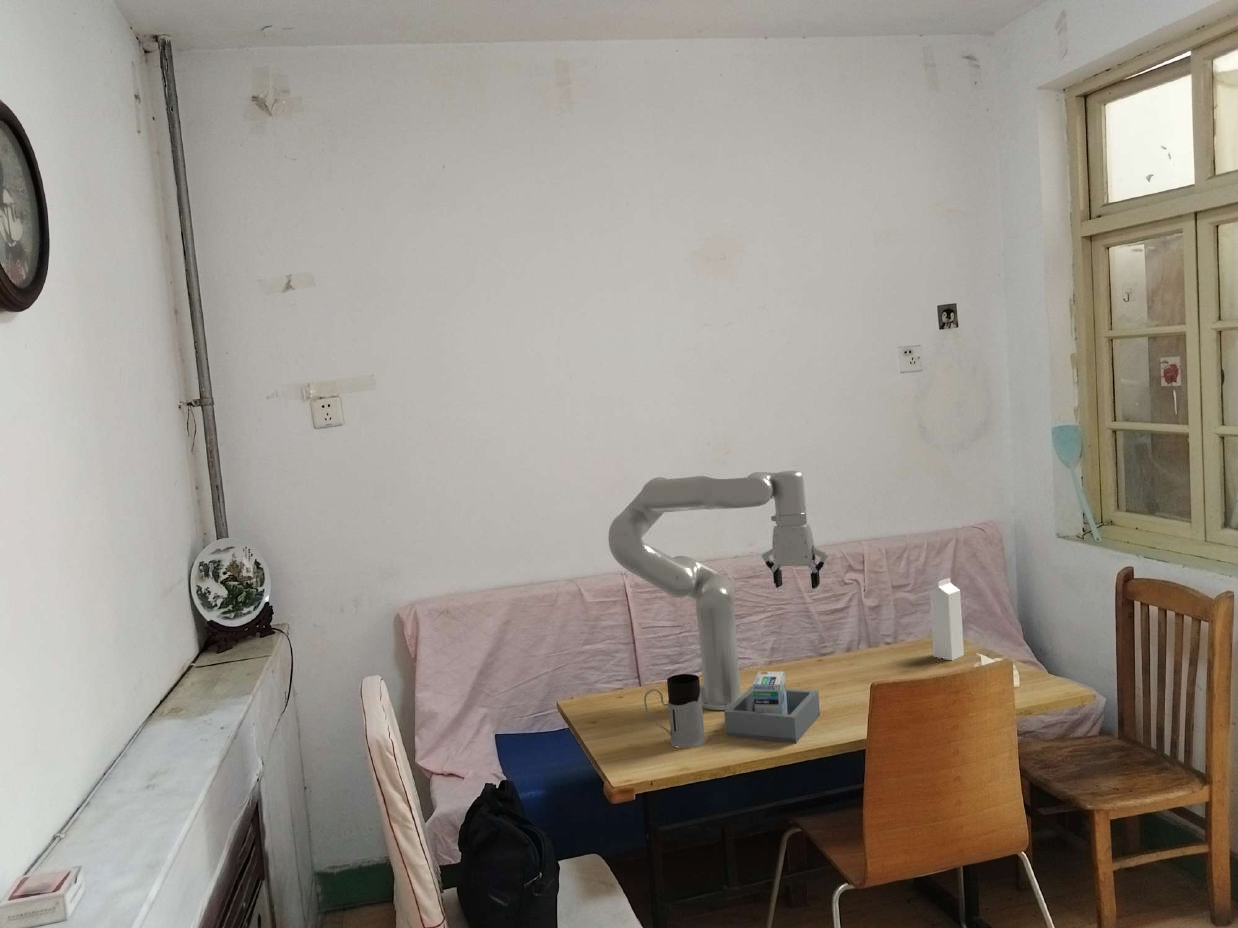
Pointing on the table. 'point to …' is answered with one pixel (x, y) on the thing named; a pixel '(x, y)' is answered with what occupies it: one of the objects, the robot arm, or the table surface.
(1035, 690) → the table surface
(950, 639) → the milk
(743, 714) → the box
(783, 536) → the robot arm
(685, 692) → the glass holder
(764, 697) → the light bulb box
